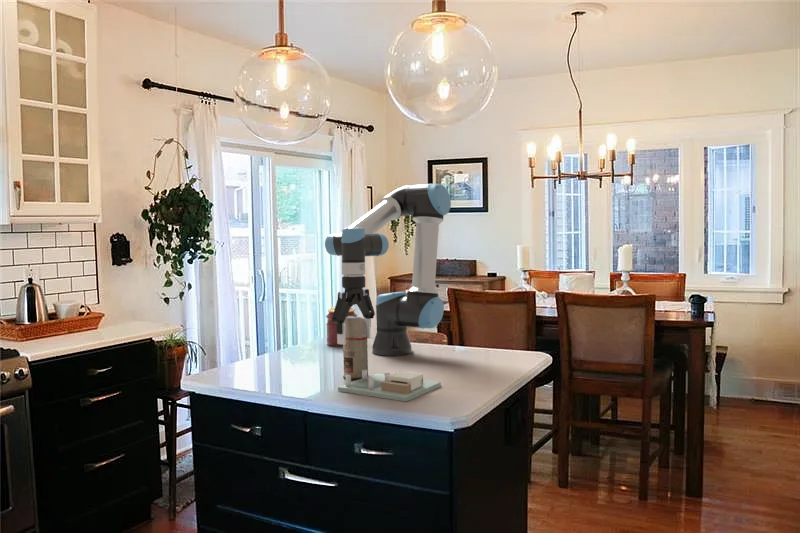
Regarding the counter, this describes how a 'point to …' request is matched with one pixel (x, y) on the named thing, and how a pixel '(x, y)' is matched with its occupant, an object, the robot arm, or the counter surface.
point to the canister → (334, 327)
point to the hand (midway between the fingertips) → (354, 341)
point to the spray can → (355, 347)
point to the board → (390, 394)
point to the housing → (407, 378)
